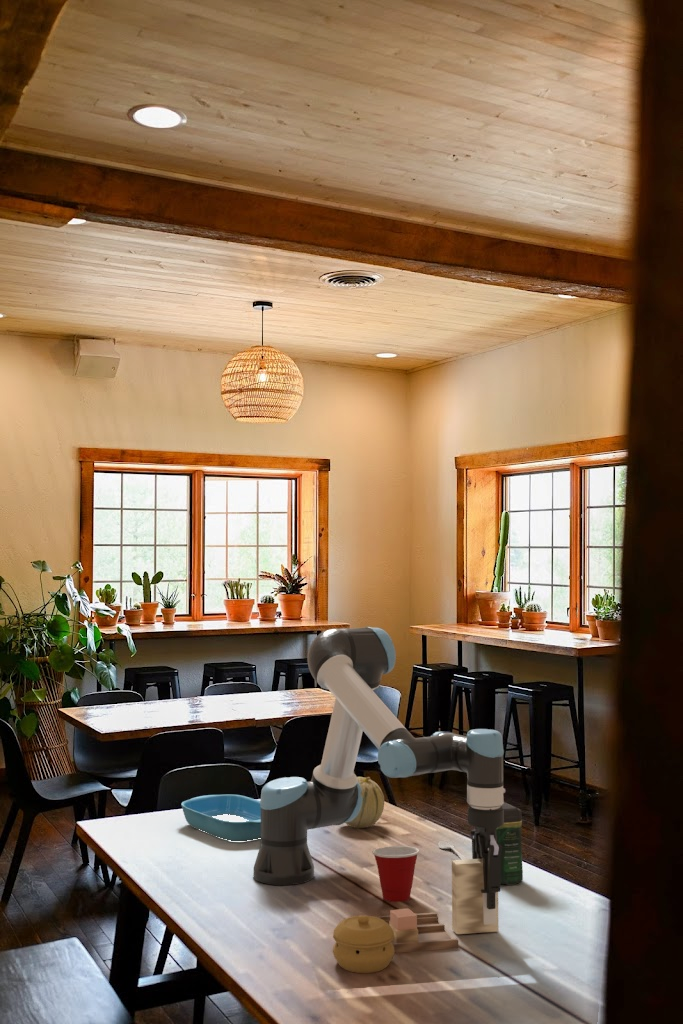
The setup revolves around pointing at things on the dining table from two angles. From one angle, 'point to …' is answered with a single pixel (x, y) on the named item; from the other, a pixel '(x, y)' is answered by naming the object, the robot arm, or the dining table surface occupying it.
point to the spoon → (449, 846)
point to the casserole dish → (212, 805)
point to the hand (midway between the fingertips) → (486, 920)
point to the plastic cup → (396, 871)
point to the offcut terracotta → (403, 919)
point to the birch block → (469, 897)
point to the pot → (363, 944)
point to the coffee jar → (511, 845)
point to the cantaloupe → (368, 804)
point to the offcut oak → (404, 935)
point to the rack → (426, 935)
